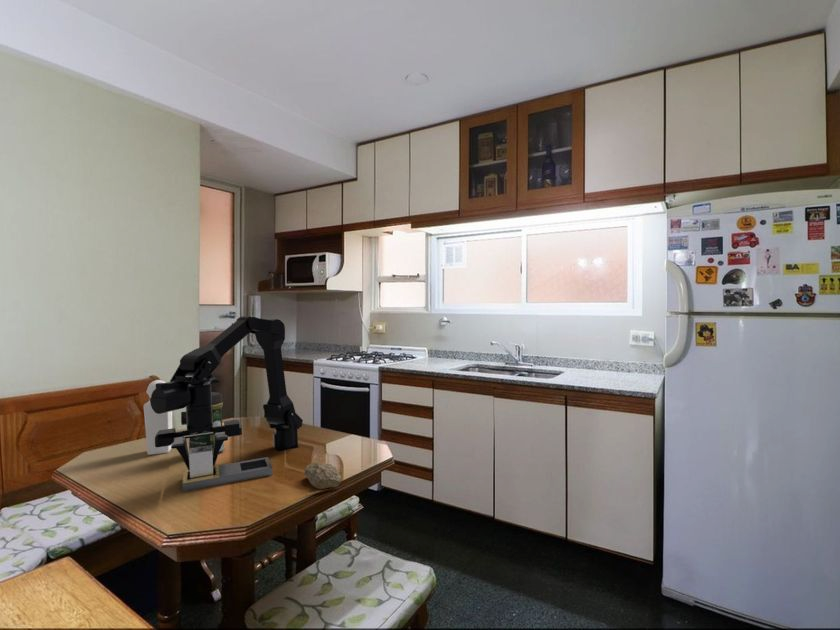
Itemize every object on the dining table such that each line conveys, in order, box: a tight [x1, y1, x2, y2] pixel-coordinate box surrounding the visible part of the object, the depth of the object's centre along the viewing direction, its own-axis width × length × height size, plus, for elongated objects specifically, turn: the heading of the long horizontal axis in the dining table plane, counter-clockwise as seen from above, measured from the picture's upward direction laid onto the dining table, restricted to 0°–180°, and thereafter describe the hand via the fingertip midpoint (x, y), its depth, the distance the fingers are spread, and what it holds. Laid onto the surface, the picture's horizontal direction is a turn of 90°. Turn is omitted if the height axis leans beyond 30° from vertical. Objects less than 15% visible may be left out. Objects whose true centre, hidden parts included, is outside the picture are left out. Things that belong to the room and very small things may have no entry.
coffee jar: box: [188, 391, 225, 455], centre depth 131 cm, size 10×8×19 cm
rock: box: [304, 461, 343, 490], centre depth 105 cm, size 8×11×4 cm
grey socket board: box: [181, 456, 273, 492], centre depth 110 cm, size 20×9×3 cm, turn 116°
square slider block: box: [188, 445, 213, 479], centre depth 107 cm, size 5×5×7 cm
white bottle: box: [143, 379, 173, 456], centre depth 134 cm, size 6×6×22 cm
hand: (201, 467), depth 107 cm, fingers closed on square slider block, 5 cm apart
